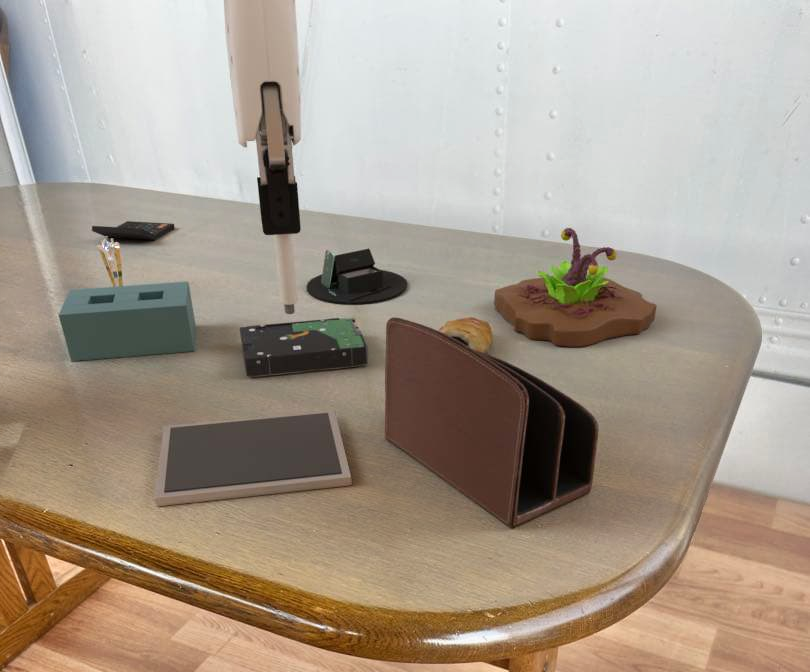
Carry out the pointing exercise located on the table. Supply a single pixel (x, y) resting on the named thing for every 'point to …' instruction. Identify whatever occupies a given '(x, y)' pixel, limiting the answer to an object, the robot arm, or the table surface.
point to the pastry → (470, 333)
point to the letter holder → (485, 424)
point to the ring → (111, 260)
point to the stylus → (286, 271)
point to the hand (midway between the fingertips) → (281, 228)
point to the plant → (574, 303)
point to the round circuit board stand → (355, 280)
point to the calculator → (135, 230)
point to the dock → (128, 321)
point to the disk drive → (302, 346)
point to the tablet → (251, 457)
